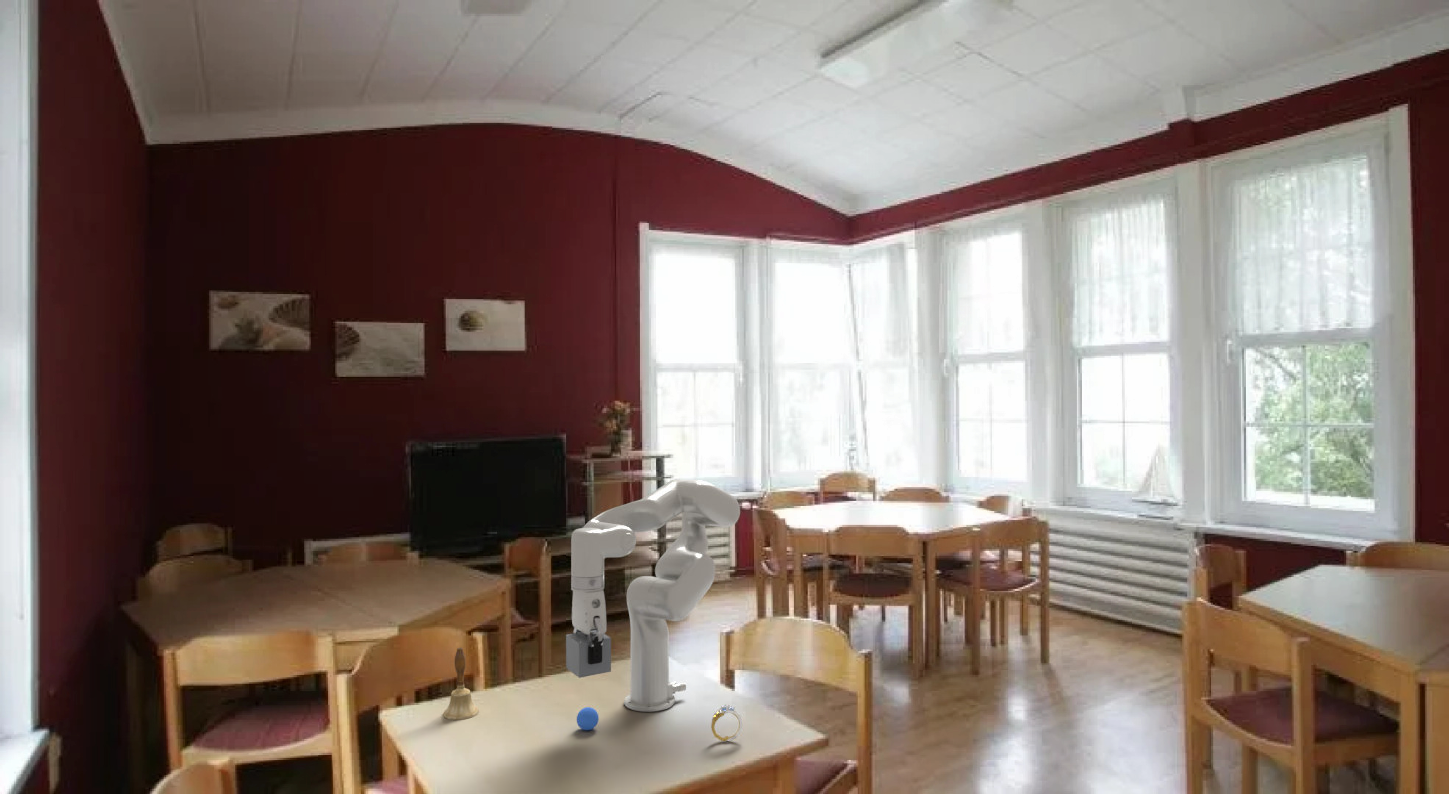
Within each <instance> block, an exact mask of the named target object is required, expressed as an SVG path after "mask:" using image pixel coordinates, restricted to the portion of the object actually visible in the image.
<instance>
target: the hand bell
mask: <svg viewBox="0 0 1449 794" xmlns="http://www.w3.org/2000/svg"><path fill="white" fill-rule="evenodd" d="M466 660H467V659H466V655H465V652H464V648H463V647H458V648H457V647H456V652H455V655H454V668H455V672H456V686H457V687H456V689H454V690H452V691H451V693H450V700H449V704H448V706H447V708H446V709H445V710H444V711H443V713H442V716H443V718H444V719H447V720H450V721H452V720H453V721H462V720H468V719H471V718H474V717H475V716H477V715H478V713H479V709H478V706H476V705H475V703H474V702H473V699H472V695H471V690H470V689H468V688H466V687H465V673H464V672H465V669H466V664H467V661H466Z"/></svg>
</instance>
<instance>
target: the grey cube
mask: <svg viewBox="0 0 1449 794" xmlns="http://www.w3.org/2000/svg"><path fill="white" fill-rule="evenodd" d="M591 632H597V631H596V630H594V631H591ZM596 636H597V635H596ZM596 636H592V638H593V640H594V638H595V637H596ZM603 638H604V639H603V645H602V662H601V663H596V664H591V665H590V664H589V663H588V646H590V644H589V639H588V635H586V634H584V633H583V632H579V633H573V632H572V633H568V634H565V656H566V657H565V666H566V667H565V668H566V669H567V670H568V671H570V672H571V673H572V674H573V675H575V676H576V678H579V679H580V678H584V677H591V676H595V675H601V674H606V673H610V672H612V638H611V636H609V635H607V634H606V633H605V634H604V637H603Z"/></svg>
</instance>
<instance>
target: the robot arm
mask: <svg viewBox="0 0 1449 794" xmlns="http://www.w3.org/2000/svg"><path fill="white" fill-rule="evenodd" d="M680 515H681V531H680V534H679V535H678V537H676V539H675V541H673V543H672V544H671V545H670V546H669V547H668V549H666V551H665V552H664V553H663V554H662V555H661V556H660V558H659V559H658V561H657V562H656V565H655V569H654V572H655V576H648V575H644V576H643V575H642V576H639V577H636V578H635V579H633V580H632V581H631V582H630V583H629V585H628V588H627V591H626V604H627V610H628V614H629V616H628V617H629V622H630V623H629V625H630V693H628V694H627V695H626V696H625V697H624V701H623V702H624V706H625V707H626V708H628V709H630V710H633V711H637V712H644V713H645V712H646V713H649V712H650V713H651V712H660V711H664V710H667V709H670V708H671V707H673V706H674V705H675V701H676V698H675V696H674V694H675V695H676V693H677V692H678V693H679V692H683V691H684V692H685V691H686V690H687V684H686V683H685V682H681V683H677V682H676V681H672V682H669V681H670V677H669V675H670V674H669V673H670V670H669V669H670V666H669V665H670V664H669V662H670V661H669V660H670V659H669V657H670V654H669V653H670V652H669V651H670V646H669V645H670V643H669V641H670V632H669V627H668V623H667V621H672V622H680V621H683V620H684V619H686V618H687V617H688V616H689V615H690V614H691V613H692V611H693V610H694V609H695V608H696V607H697V605H698V604H699V602H700V601H701V600H702V599H703V597H704V596H705V595H706V593H707V592H708V590H710V588H711V587H712V585H713V583H714V580H715V577H716V564H715V560H713V558H712V557H711V556H710V555H708V554H707V551H708V549H709V539H708V535H707V530H706V526H711V527H717V528H729V527H732V526H734V525H735V524H736V523H737V522H738V520H739V519H740V515H741V507H740V503H739V502H738V500H737V499H736V497H734V496H733V495H731V494H730V493H728V492H727V491H725V490H723V489H721V488H720V487H717V486H716V485H714V484H712V483H710V482H707V481H704V480H700V479H699V480H698V479H687V478H686V479H685V478H676V479H673V480H670V481H668V482H666V483H665V484H664V485H662V486H660V487H658V488H657V489H655V490H654V491H653V492H651V493H650V494H648V495H646V496H645V497H643V498H641V499H638V500H635V501H631V502H629V503H626V504H622V505H619V506H615V507H613V508H609V509H608V510H605V511H603V512H601V513H599V514H598V515H596V516H595V517H593V518H591V519H590V520H589V521H587V523H585V525H584V526H583V527H580V528H576V529H574V531H572V533H571V539H570V540H571V543H570V544H571V546H570V547H571V548H570V549H571V553H570V556H571V560H570V562H571V564H570V565H571V567H570V568H571V569H570V570H571V574H570V575H571V579H570V580H571V581H570V583H571V584H570V585H571V586H570V587H571V588H570V590H571V591H572V602H571V604H572V606H571V622H572V628H573V630H572V631H573V632H572V634H573V633H579V632H583V633H584V634H586V635H588V639H589V644H590V646H588V663H589V664H590V665H591V664H596V663H601V662H602V645H603V639H604V638H603V637H604V634H605V635H606V632H607V611H606V609H607V607H606V606H607V605H606V599H605V598H606V597H605V591H604V589H605V559H607V558H622V557H625V556H627V555H630V554H631V553H632V552H633V550H634V549H635V547H636V543H637V536H636V534H635V533H645V532H651V531H655V530H658V529H660V528H662V527H663V526H665V525H666V524H668V523H669V522H670V521H672V520H673V519H675V518H676V517H678V516H680ZM666 620H667V621H666ZM594 630H596V631H597V632H591V631H594ZM596 635H597V636H596ZM592 636H596V637H595V638H594V640H593V638H592Z"/></svg>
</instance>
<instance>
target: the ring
mask: <svg viewBox="0 0 1449 794" xmlns="http://www.w3.org/2000/svg"><path fill="white" fill-rule="evenodd" d="M735 709H736V706H733V705H730V704H728V705H727V704H724V706H720V708H718V709H717V710H716V711H714V712H715V713H714V714H713V716H712V719H711V722H710V723H711V724H710V726H711V727H710V728H711V732H712V734H713V736H714V737H715V738H716V739H717V740H719V741H722V742H725V741H729V742H731V741H733V740H735V739H737V738H738V737H739V736H740V735H741V733H742V729H743V719H742V716H741V715H740V713H739V712H738V711H736V710H735ZM726 714H727V715H728V714H732V715H733V716H735V717H736V718H737V720H738V723H739V724H738V729H737V731H736V732H735V734H733V735H731V736H728V735H727V736H725V737H724V736H722V735H720V734H718V733H717V730H716V729H715V725H716V723H717V721H718V720H719V719H720V718H721V717H723V716H725V715H726Z"/></svg>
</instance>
